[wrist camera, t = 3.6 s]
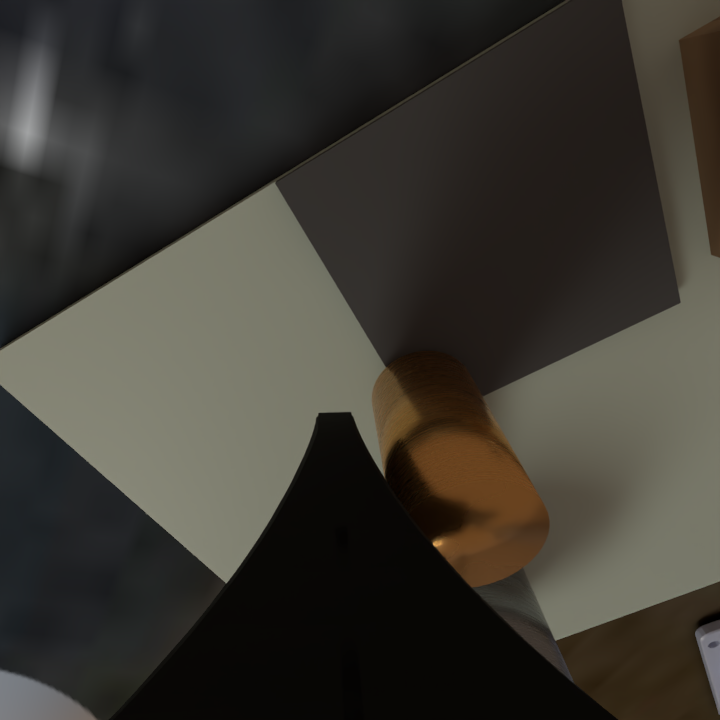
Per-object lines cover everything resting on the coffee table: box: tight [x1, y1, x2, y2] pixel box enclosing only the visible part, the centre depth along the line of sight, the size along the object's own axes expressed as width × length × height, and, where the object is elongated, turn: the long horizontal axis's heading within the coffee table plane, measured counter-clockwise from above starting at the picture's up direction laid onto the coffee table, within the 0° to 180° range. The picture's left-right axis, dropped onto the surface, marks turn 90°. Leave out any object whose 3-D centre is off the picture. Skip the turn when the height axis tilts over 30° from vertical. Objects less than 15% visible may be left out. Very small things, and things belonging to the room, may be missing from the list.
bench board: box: [0, 0, 720, 641], centre depth 14 cm, size 20×22×1 cm
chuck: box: [472, 568, 574, 683], centre depth 13 cm, size 6×6×6 cm
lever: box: [372, 351, 550, 587], centre depth 10 cm, size 6×3×4 cm, turn 8°
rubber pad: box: [275, 0, 681, 396], centre depth 10 cm, size 7×7×1 cm
